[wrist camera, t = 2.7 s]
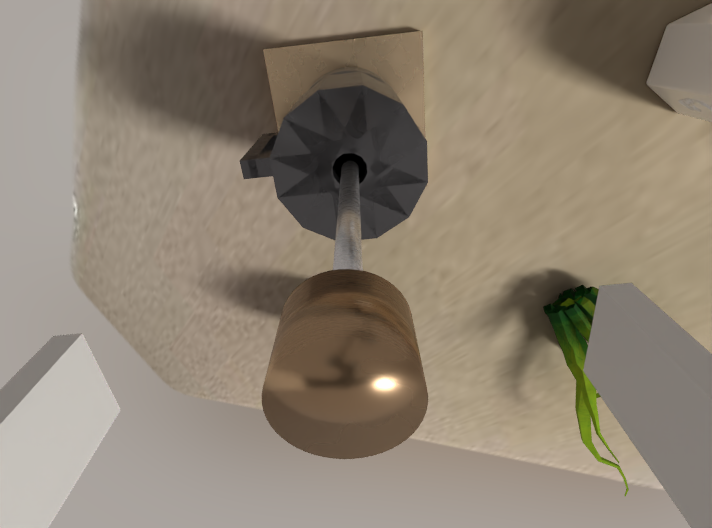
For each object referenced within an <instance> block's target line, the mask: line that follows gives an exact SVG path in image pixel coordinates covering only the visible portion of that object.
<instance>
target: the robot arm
mask: <svg viewBox="0 0 712 528" xmlns="http://www.w3.org/2000/svg"><path fill="white" fill-rule="evenodd" d="M583 371H584V373H585V374H586V376H587V377H588V379H589V380H590V382H591V383H592V384H593V386H594V387H595V389H596V390H597V392H598V393H599V395H600V396H601V398H602V399H603V400H604V402H605V403H606V405H607V406H608V408H609V409H610V411H611V412H612V413H613V415H614V416H615V418H616V419H617V421H618V422H619V424H620V425H621V427H622V428H623V429H624V431H625V432H626V434H627V435H628V437H629V438H630V440H631V441H632V442H633V444H634V445H635V447H636V448H637V450H638V451H639V453H640V454H641V456H642V457H643V458H644V460H645V461H646V463H647V464H648V466H649V467H650V469H651V470H652V472H653V473H654V474H655V476H656V477H657V479H658V480H659V482H660V483H661V485H662V486H663V487H664V489H665V490H666V492H667V493H668V495H669V496H670V498H671V499H672V501H673V502H674V503H675V505H676V506H677V508H678V509H679V511H680V512H681V514H682V515H683V516H684V518H685V519H686V521H687V522H688V524H689V525H690V527H691V528H712V354H711V353H710V352H709V351H708V350H706V349H705V348H704V347H703V346H702V345H701V344H700V343H699V342H697V341H696V340H695V339H694V338H693V337H692V336H691V335H690V334H688V333H687V332H686V331H685V330H684V329H683V328H682V327H681V326H679V325H678V324H677V323H676V322H675V321H674V320H673V319H672V318H670V317H669V316H668V315H667V314H666V313H665V312H664V311H662V310H661V309H660V308H659V307H658V306H657V305H656V304H655V303H653V302H652V301H651V300H650V299H649V298H648V297H647V296H646V295H644V294H643V293H642V292H641V291H640V290H639V289H638V288H637V287H635V286H634V285H633V284H632V283H625V284H614V285H603V286H599V291H598V296H597V302H596V307H595V312H594V317H593V322H592V328H591V333H590V338H589V343H588V348H587V354H586V359H585V364H584V369H583ZM119 412H120V408H119V406H118V404H117V402H116V400H115V398H114V396H113V394H112V392H111V390H110V388H109V386H108V384H107V382H106V380H105V378H104V376H103V374H102V372H101V370H100V368H99V366H98V364H97V362H96V360H95V358H94V356H93V354H92V352H91V350H90V348H89V346H88V344H87V342H86V340H85V338H84V336H83V334H82V333H81V334H70V335H60V336H53V337H52V338H51V339H50V340H49V341H48V342H47V343H46V344H45V345H44V346H43V347H42V348H41V349H40V350H39V351H38V352H37V353H36V354H35V355H34V356H33V357H32V358H31V359H30V360H29V361H28V362H27V363H26V364H25V365H24V366H23V367H22V368H21V369H20V370H19V372H17V373H16V375H15V376H14V377H13V378H12V379H11V380H10V381H9V382H8V383H7V384H6V385H5V386H4V387H3V388H2V389H1V390H0V528H49V526H50V524H51V523H52V521H53V519H54V518H55V516H56V515H57V513H58V511H59V510H60V508H61V506H62V505H63V503H64V502H65V500H66V498H67V497H68V495H69V493H70V492H71V490H72V489H73V487H74V485H75V484H76V482H77V480H78V479H79V477H80V475H81V474H82V472H83V470H84V469H85V467H86V466H87V464H88V462H89V461H90V459H91V457H92V456H93V454H94V452H95V451H96V449H97V448H98V446H99V445H100V443H101V441H102V440H103V438H104V436H105V435H106V433H107V431H108V430H109V428H110V426H111V425H112V423H113V422H114V420H115V418H116V417H117V415H118V414H119Z"/></svg>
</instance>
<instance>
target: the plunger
mask: <svg viewBox="0 0 712 528" xmlns="http://www.w3.org/2000/svg"><path fill="white" fill-rule="evenodd" d="M262 406H263V411H264V413H265V416H266V418H267V420H268V421H269V423H270V425H271V427H272V428H273V429H274V430H275V432H276V433H277V434H279V435H280V436H281V437H282V438H283V439H284V440H286V441H287V442H288V443H290V444H291V445H293V446H295V447H297V448H299V449H301V450H303V451H305V452H308V453H311V454H314V455H318V456H322V457H328V458H336V459H337V458H338V459H354V458H363V457H368V456H373V455H376V454H379V453H383V452H385V451H387V450H389V449H392V448H394V447H395V446H397V445H399V444H401V443H402V442H403V441H405V440H406V439H407V438H409V437H410V436H411V435H412V434H413V433H414V432H415V431H416V429H417V428H418V427H419V425H420V424H421V422H422V421H423V418H424V416H425V414H426V410H427V406H428V393H427V387H426V382H425V377H424V372H423V368H422V363H421V358H420V353H419V348H418V343H417V339H416V334H415V329H414V324H413V319H412V314H411V311H410V307H409V305H408V303H407V301H406V299H405V298H404V296H403V295H402V293H401V292H400V291H399V290H398V289H397V288H396V287H395V286H394V285H392V284H391V283H390V282H388V281H387V280H385V279H384V278H382V277H380V276H377V275H375V274H372V273H369V272H366V271H363V268H362V244H361V219H360V195H359V170H358V165H357V163H356V162H354V161H351V160H349V161H346V162H344V163H343V165H342V168H341V180H340V192H339V204H338V216H337V228H336V241H335V253H334V265H333V270H331V271H327V272H323V273H320V274H318V275H315V276H313V277H311V278H309V279H307V280H306V281H304V282H303V283H302V284H300V285H299V286H298V287H297V288H296V289H295V290H294V291H293V292H292V293H291V295H290V296H289V297H288V299H287V301H286V303H285V305H284V308H283V310H282V314H281V318H280V322H279V326H278V330H277V334H276V338H275V342H274V346H273V350H272V354H271V358H270V362H269V366H268V370H267V374H266V378H265V382H264V386H263V391H262Z"/></svg>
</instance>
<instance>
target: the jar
mask: <svg viewBox="0 0 712 528" xmlns="http://www.w3.org/2000/svg"><path fill="white" fill-rule="evenodd" d="M646 83H647V85H648V86H649V87H650V88H651V89H652V90H653V91H654V92H655V93H656V94H657V95H659V96H660V97H661V98H662V99H663V100H664V101H665V102H666V103H667V104H668V105H669V106H671V107H672V108H673V109H674V110H675V111H676V112H677V113H678V114H682V115H686V116H690V117H694V118H697V119H701V120H705V121H709V122H712V3H711V4H709V5H707V6H704V7H702V8H700V9H698V10H696V11H694V12H692V13H690V14H688V15H686V16H684V17H682V18H680V19H678V20H676V21H674V22H672V23H670V24H668V25H667V27H666V29H665V32H664V35H663V38H662V40H661V43H660V46H659V49H658V52H657V54H656V57H655V60H654V63H653V66H652V68H651V71H650V74H649V77H648V79H647V82H646Z"/></svg>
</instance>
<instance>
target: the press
mask: <svg viewBox="0 0 712 528" xmlns="http://www.w3.org/2000/svg"><path fill="white" fill-rule="evenodd" d="M263 52H264V58H265V63H266V68H267V74H268V79H269V85H270V90H271V95H272V101H273V106H274V111H275V117H276V122H277V128H278V133H269V134H263V135H262V136H261V137H260V138H259V139H258V140H257V141H256V143H255V144H254V145H253V146H252V147H251V148H250V149H249V151H248V152H247V153H246V154H245V155H244V156H243V158H242V159H241V160H240V164H241V169H242V173H243V177H244V179H249V178H259V177H268V176H273V177H274V182H275V187H276V192H277V197H278V199H279V200H280V201H281V202H282V203H283V205H284V206H285V207H286V208H287V209H288V210H289V212H290V213H291V214H292V215H293V216H294V218H295V219H296V220H297V221H298V222H299V223H300V225H301V226H302V227H303V228H305V229H308V230H310V231H313V232H316V233H318V234H321V235H323V236H326V237H328V238H331V239H333V240H336V228H337V216H338V204H339V192H340V180H341V168H342V165H343V163H344V162H346V161H349V160H351V161H354V162H356V163H357V165H358V170H359V195H360V219H361V240H362V239H372V238H378V237H379V236H381V235H382V234H384V233H385V232H387V231H388V230H390V229H392V228H393V227H395V226H396V225H398V224H399V223H401V222H402V221H404V220H405V219H407V218H408V217H409V216H410V214H411V213H412V211H413V209H414V207H415V205H416V203H417V202H418V200H419V198H420V196H421V194H422V192H423V190H424V189H425V187H426V186H427V183H428V167H427V141H426V139H425V104H424V65H423V31H415V32H406V33H398V34H389V35H381V36H372V37H364V38H355V39H347V40H338V41H330V42H321V43H313V44H304V45H296V46H287V47H279V48H270V49H263Z"/></svg>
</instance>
